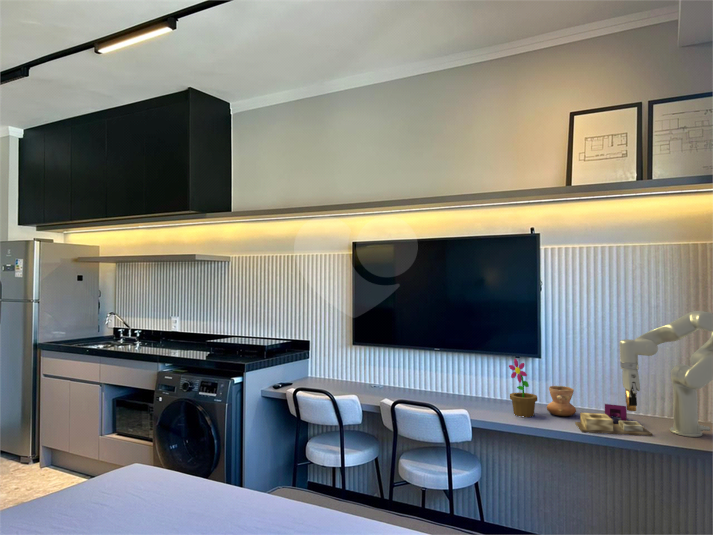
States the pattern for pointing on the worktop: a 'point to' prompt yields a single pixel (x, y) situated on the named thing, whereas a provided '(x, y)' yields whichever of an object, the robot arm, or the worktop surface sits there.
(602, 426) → the docking station
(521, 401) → the flowerpot
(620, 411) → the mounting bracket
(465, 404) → the worktop surface
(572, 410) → the ceramic jug
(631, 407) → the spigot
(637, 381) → the robot arm
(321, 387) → the worktop surface
